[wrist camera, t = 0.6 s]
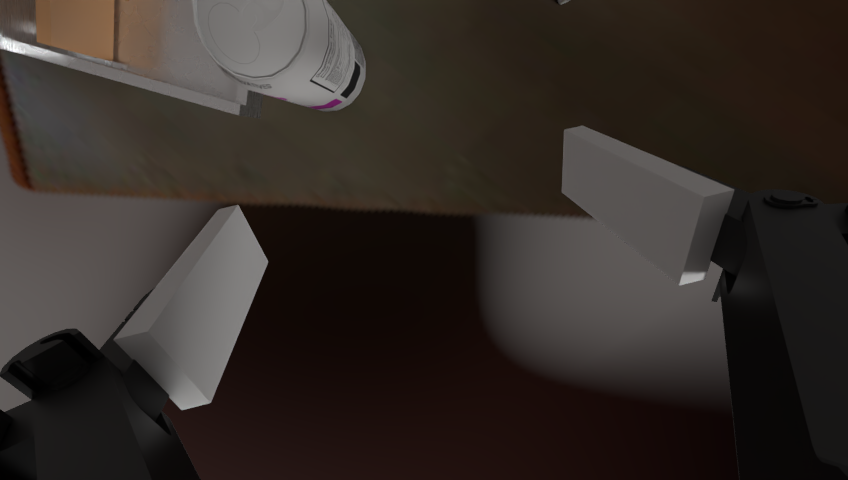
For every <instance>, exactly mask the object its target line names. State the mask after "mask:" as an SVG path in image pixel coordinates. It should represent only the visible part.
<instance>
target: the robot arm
mask: <svg viewBox="0 0 848 480" xmlns="http://www.w3.org/2000/svg"><path fill="white" fill-rule="evenodd" d="M562 193H564V194H565V195H566V196H567V197H569V198H570V199H571V200H572V201H574V202H575V203H576V204H577V205H579V206H580V207H581V208H582V209H584V210H585V211H586V212H587V213H589V214H590V215H591V216H592V217H594V218H595V219H596V220H597V221H599V222H600V223H601V224H602V225H604V226H605V227H606V228H608V229H609V230H610V231H611V232H613V233H614V234H615V235H616V236H618V237H619V238H620V239H621V240H623V241H624V242H625V243H626V244H628V245H629V246H630V247H631V248H633V249H634V250H635V251H636V252H638V253H639V254H640V255H641V256H643V257H644V258H645V259H646V260H648V261H649V262H650V263H651V264H653V265H654V266H655V267H656V268H658V269H659V270H660V271H662V272H663V273H664V274H665V275H667V276H668V277H669V278H670V279H672V280H673V281H674V282H675V283H677V284H678V285H683V284H687V283H691V282H695V281H699V280H703V279H705V277H706V274H707V271H708V268H709V265H710V262H711V261H712V262H714V263H716V264H717V265H719V266H720V267H722V268H723V271H722V273H721V276H720V279H719V282H718V284H717V287H716V290H715V293H714V295H713V298H712V301H714V302H717V300H718V298H719V297H720V296H721V303H722V313H723V323H724V333H725V343H726V352H727V362H728V371H729V382H730V392H731V401H732V411H733V421H734V430H735V440H736V451H737V460H738V471H739V480H848V203H842V204H823V203H822V202H821V201H820V200H819V199H817V198H815V197H812V196H810V195H807V194H803V193H799V192H795V191H787V190H763V191H757V192H755V193H753V194H750V193H748V192H745V191H743V190H740V189H738V188H736V187H733V186H731V185H728V184H726V183H724V182H721V181H719V180H716V179H712V178H711V177H709V176H707V175H704V174H700V173H699V172H697V171H695V170H692V169H690V168H687V167H684V166H679V165H675V164H673V163H670V162H668V161H665V160H663V159H661V158H658V157H656V156H653V155H651V154H649V153H646V152H644V151H642V150H639V149H637V148H634V147H632V146H630V145H627V144H625V143H623V142H620V141H618V140H615V139H613V138H611V137H608V136H606V135H604V134H601V133H599V132H596V131H594V130H592V129H589V128H587V127H585V126H579V127H574V128H570V129H566V130H564V149H563V175H562ZM267 263H268V261H267V259H266V257H265V255H264V253H263V251H262V249H261V247H260V245H259V243H258V241H257V240H256V238H255V236H254V234H253V232H252V230H251V228H250V227H249V224H248V223H247V221H246V219H245V217H244V215H243V213H242V211H241V209H240V208H239V205H236V206H231V207H227V208H222V209H219V210H218V211H217V212H216V213H215V214H214V216H213V217H212V218H211V219H210V221H209V222H208V223H207V224H206V225H205V227H204V228H203V229H202V230H201V232H200V233H199V234H198V235H197V237H196V238H195V239H194V240H193V242H192V243H191V244H190V245H189V247H188V248H187V249H186V250H185V251H184V253H183V254H182V255H181V256H180V258H179V259H178V260H177V261H176V263H175V264H174V265H173V266H172V268H171V269H170V270H169V271H168V272H167V274H166V275H165V276H164V277H163V279H162V280H161V281H160V282H159V284H158V285H157V286H156V287H155V288H154V289H152V290H151V291H150V292H149V293H148V294H146V295H145V296H144V297H143V298H142V299H141V300H140V301H139V303H138V304H137V305H136V306H135V308H134V309H133V310H134V311H132V312H130V314H129V315H128V316H127V317H126V319H125V322H122V324H121V325H120V326H119V327H118V328H117V330H116V331H115V332H114V333H113V334H112V335H111V337H110V338H109V339H108V340H107V341H106V343H105V344H104V345H103V346H102V348H101V349H100V350H98V349H97V348H96V347H95V346H94V345H93V344H92V343H91V342H90V341H89V340H88V339H87V338H86V337H85V336H84V335H83V334H82V333H81V332H80V331H78V330H77V329H65V330H62V331H59V332H55V333H53V334H50V335H48V336H46V337H44V338H42V339H40V340H38V341H37V342H35V343H33V344H31V345H29V346H28V347H26V348H25V349H23V350H22V351H21V352H19V353H18V354H17V355H15V356H14V357H13V358H12V359H11V360H10V361H9V362H8V363H7V364H6V365H5V366H4V367H3V368H2V371H1V372H0V377H2V378H3V379H4V380H6V381H7V382H9V383H10V384H11V385H13V386H14V387H15V388H17V389H18V390H19V391H21V392H22V393H23V394H25V395H26V396H27V397H29V398H30V399H31V401H29V402H26V403H24V404H22V405H19V406H17V407H15V408H13V409H10V410H8V411H6V412H3V411H2V410H0V480H201V479H200V477H199V475H198V473H197V471H196V470H195V468H194V466H193V464H192V462H191V460H190V458H189V456H188V454H187V452H186V450H185V448H184V446H183V444H182V442H181V440H180V438H179V436H178V434H177V432H176V430H175V428H174V427H173V424H172V422H171V420H170V419H169V418H168V417H167V416H166V415H165V414H164V413H163V412H162V409H163V407H164V405H165V403H166V401H167V399H168V397H169V398H170V399H171V400H172V401H173V402H175V404H176V405H177V406H178V407H179V408H180V409H181V410H184V409H189V408H193V407H196V406H200V405H204V404H208V403H211V401H212V398H213V396H214V393H215V391H216V388H217V386H218V384H219V381H220V379H221V376H222V374H223V371H224V369H225V366H226V364H227V362H228V359H229V357H230V354H231V351H232V349H233V347H234V344H235V342H236V339H237V337H238V335H239V332H240V330H241V327H242V325H243V322H244V320H245V317H246V315H247V312H248V310H249V307H250V305H251V302H252V300H253V298H254V295H255V293H256V290H257V288H258V285H259V283H260V281H261V278H262V275H263V273H264V271H265V268H266V266H267Z"/></svg>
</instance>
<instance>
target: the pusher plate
mask: <svg viewBox="0 0 848 480" xmlns="http://www.w3.org/2000/svg"><path fill="white" fill-rule="evenodd" d="M35 1H36V31H37V42H39V43H42V44H46V45H49V46H53V47H57V48H61V49H65V50H68V51H72V52H76V53H80V54H84V55H88V56H92V57H96V58H100V59H104V60H108V61H112V62H113V44H114V0H35Z"/></svg>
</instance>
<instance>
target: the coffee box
mask: <svg viewBox="0 0 848 480" xmlns="http://www.w3.org/2000/svg"><path fill="white" fill-rule="evenodd" d="M557 1H558V3H559V4H560V5H561V4H564V3H566V2H568V1H570V0H557Z"/></svg>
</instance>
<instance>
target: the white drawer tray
mask: <svg viewBox="0 0 848 480" xmlns="http://www.w3.org/2000/svg"><path fill="white" fill-rule="evenodd" d="M0 49H3V50H7V51H12V52H16V53H20V54H23V55H27V56H30V57H34V58H37V59H41V60H44V61H48V62H51V63H55V64H59V65H62V66H66V67H69V68H73V69H76V70H80V71H83V72H87V73H90V74H94V75H98V76H101V77H105V78H108V79H112V80H115V81H119V82H122V83H126V84H130V85H133V86H137V87H140V88H144V89H147V90H151V91H154V92H158V93H161V94H165V95H169V96H172V97H176V98H179V99H183V100H186V101H190V102H193V103H197V104H200V105H204V106H208V107H211V108H215V109H218V110H222V111H225V112H229V113H232V114H236V115H240V116H247V117H253V118H260V114H261V107H262V99H263V94H261V93H258V92H254V91H251V90H247V89H244V88H243V87H242V86H240V85H239V84H237V83H236V82H234V81H233V80H231V79H230V78H228V77H227V76H225V74H224V73H223V72H222V71H221V69H220V68H219V67H218V65H217V64H216V63H215V62H214V60H213V59H212V58H211V57H210V54H209V52H208V51H207V50H206V49H205V47H204V46H203V44H202V42H201V39H200V37H199V34H198V32H197V29H196V27H195V24H194V16H193V5H192V0H114V44H113V62H112V61H108V60H104V59H100V58H96V57H92V56H88V55H84V54H80V53H76V52H72V51H68V50H65V49H61V48H57V47H53V46H49V45H46V44H42V43H39V42H37V31H36V1H35V0H0Z"/></svg>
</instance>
